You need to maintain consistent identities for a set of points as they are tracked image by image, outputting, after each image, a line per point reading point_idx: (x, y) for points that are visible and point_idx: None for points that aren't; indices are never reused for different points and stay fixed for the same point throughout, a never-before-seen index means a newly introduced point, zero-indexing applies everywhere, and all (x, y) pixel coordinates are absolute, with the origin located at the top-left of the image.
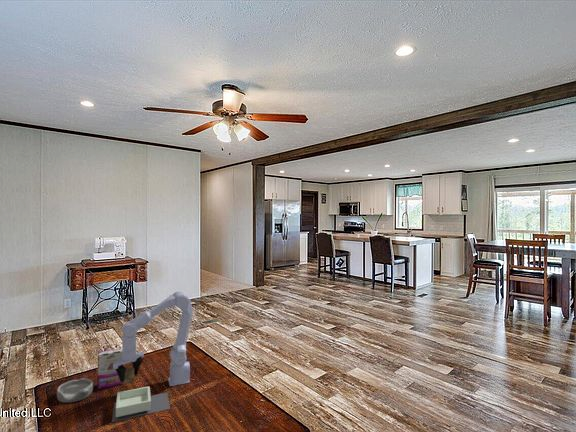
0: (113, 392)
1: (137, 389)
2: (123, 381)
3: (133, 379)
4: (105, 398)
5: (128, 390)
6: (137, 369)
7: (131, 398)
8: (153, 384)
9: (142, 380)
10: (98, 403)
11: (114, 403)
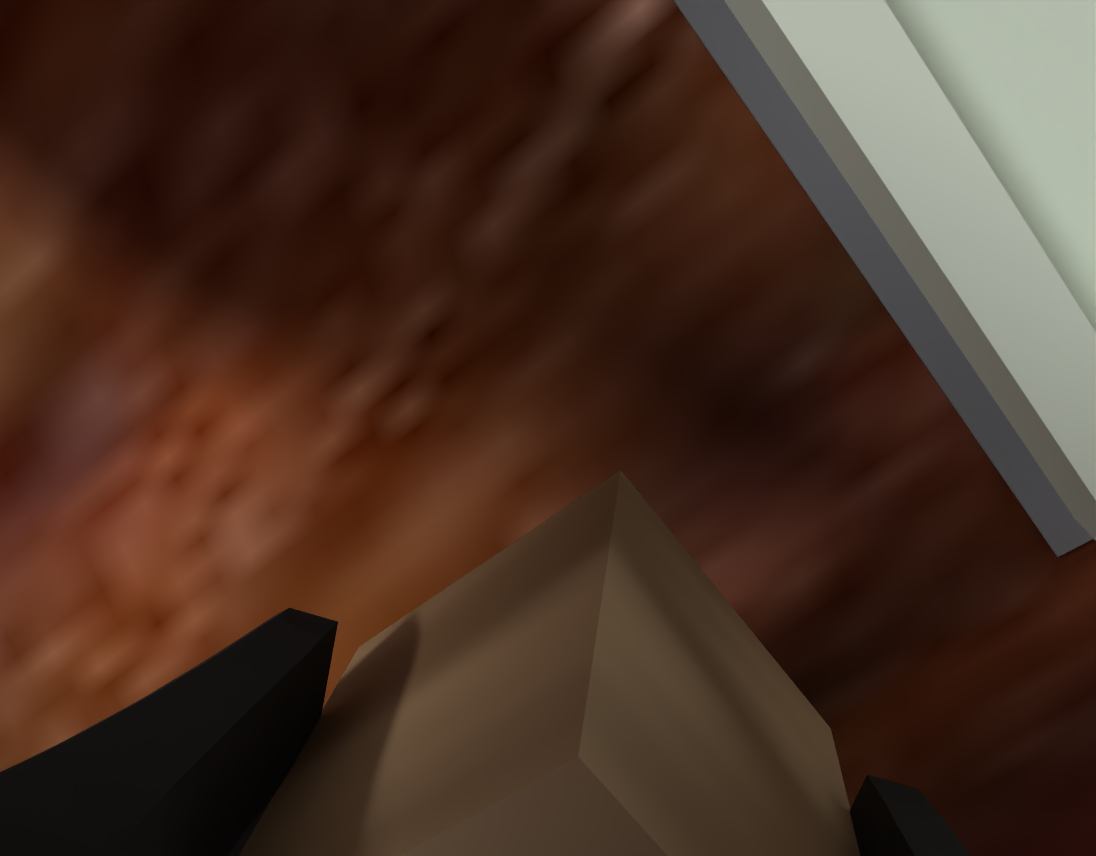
0: None
1: (928, 84)
2: (900, 789)
3: (628, 539)
4: None
5: (1034, 375)
6: (199, 745)
7: (1050, 165)
8: (75, 196)
9: (59, 551)
10: (1058, 840)
11: (1062, 545)
